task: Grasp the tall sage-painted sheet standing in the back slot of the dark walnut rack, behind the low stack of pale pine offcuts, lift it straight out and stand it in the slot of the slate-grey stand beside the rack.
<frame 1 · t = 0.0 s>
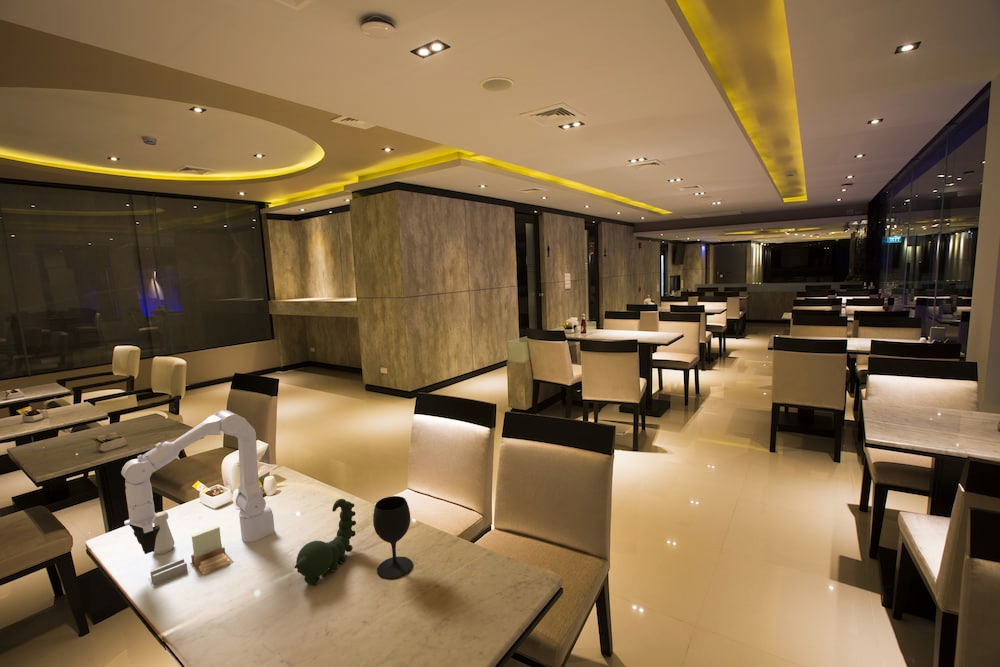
hand: (146, 547, 132), 10 cm above the table, tool pointing down, fingers open, 7 cm apart
lower pine offcut: (214, 566, 137), point 1 cm above the table, touching upper pine offcut, walnut rack
wine glass: (395, 568, 134), on the table
sage sheet: (208, 558, 141), point 1 cm above the table, touching walnut rack
walnut rack: (212, 565, 139), on the table
upper pine offcut: (214, 562, 137), point 2 cm above the table, touching lower pine offcut
toy figurine: (328, 569, 135), on the table
slate stand: (169, 577, 134), on the table
salt shaker: (164, 552, 147), on the table
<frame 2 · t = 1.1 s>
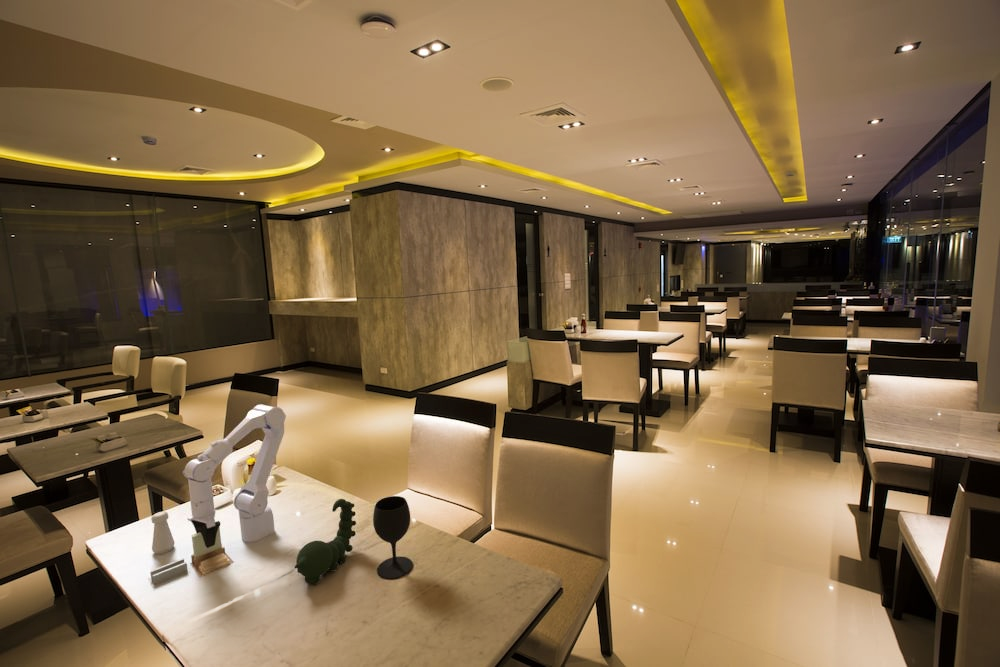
hand: (206, 541, 140), 6 cm above the table, tool pointing down, fingers open, 7 cm apart
nothing on the table moved.
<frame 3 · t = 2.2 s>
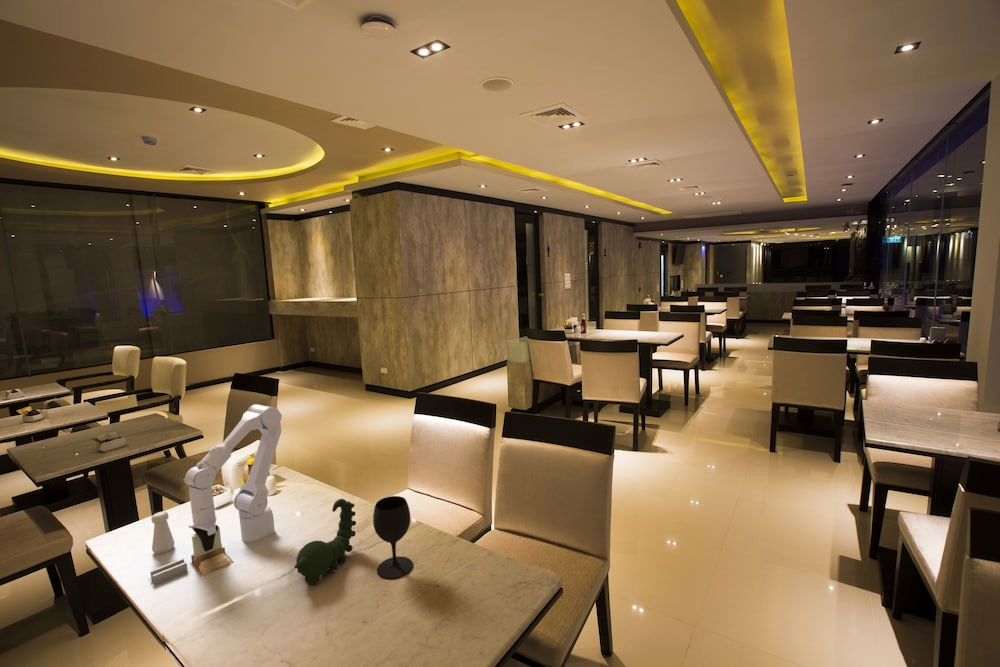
hand: (207, 548, 140), 4 cm above the table, tool pointing down, fingers closed on sage sheet, 1 cm apart
sage sheet: (208, 558, 141), point 1 cm above the table, touching gripper, walnut rack
everything else where it was.
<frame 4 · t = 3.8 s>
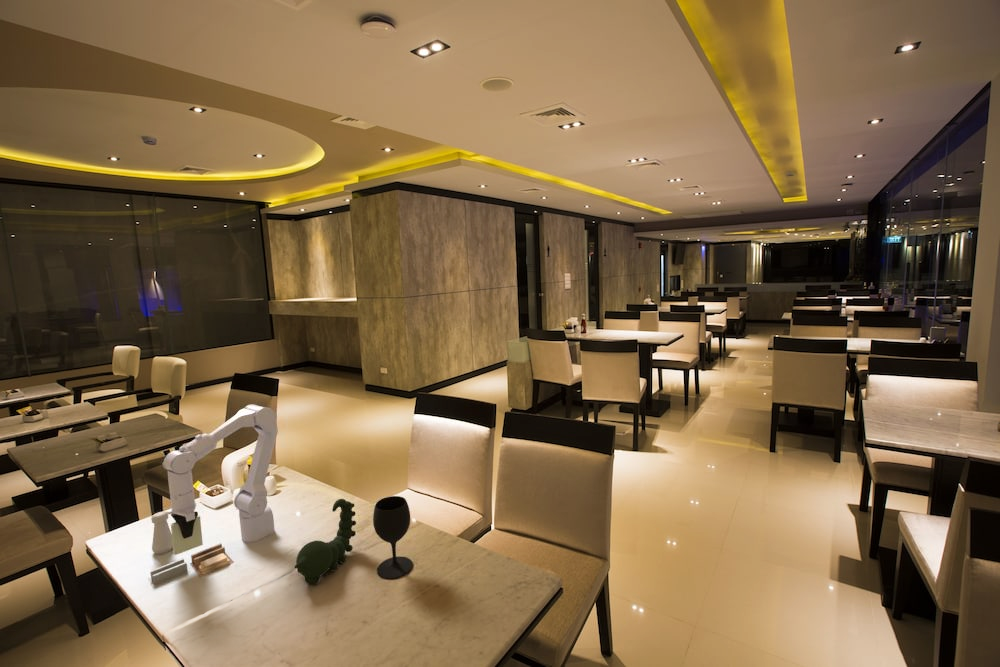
hand: (186, 535, 136), 11 cm above the table, tool pointing down, fingers closed on sage sheet
sage sheet: (188, 549, 137), point 6 cm above the table, touching gripper
everything else where it was.
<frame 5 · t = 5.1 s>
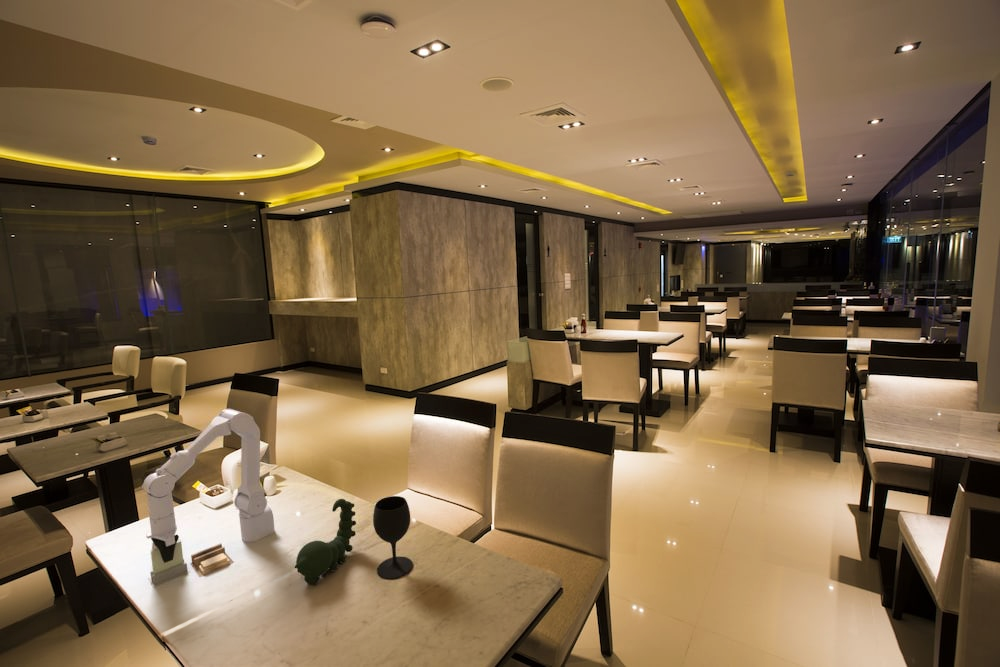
hand: (167, 559, 133), 6 cm above the table, tool pointing down, fingers closed on sage sheet, 1 cm apart
sage sheet: (169, 574, 133), point 1 cm above the table, touching gripper
everything else where it was.
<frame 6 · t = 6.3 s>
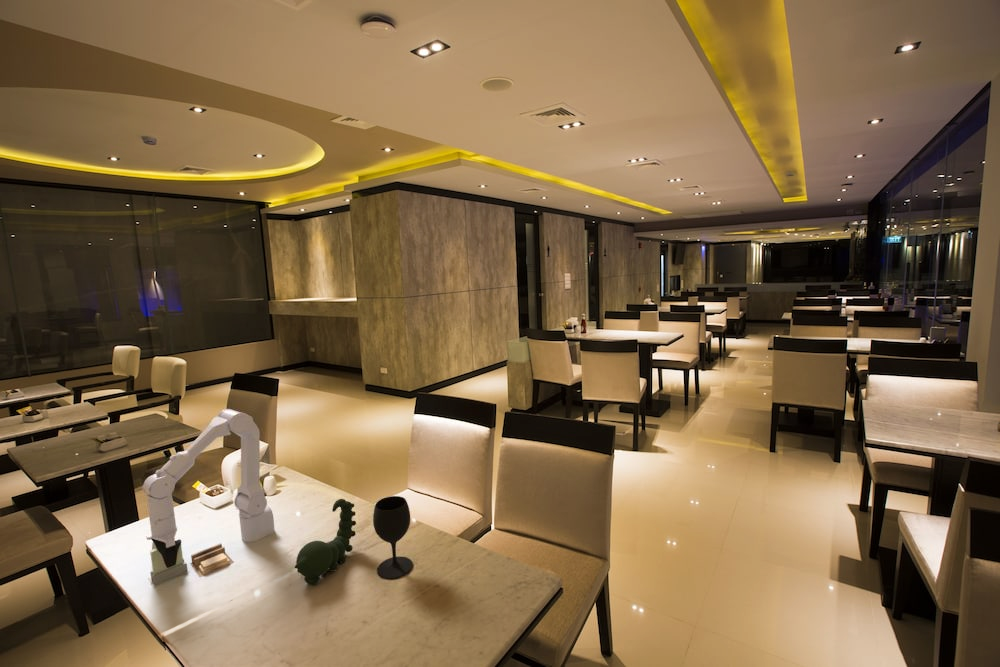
hand: (167, 560, 133), 5 cm above the table, tool pointing down, fingers open, 7 cm apart
sage sheet: (169, 575, 133), point 1 cm above the table, touching slate stand
everything else where it was.
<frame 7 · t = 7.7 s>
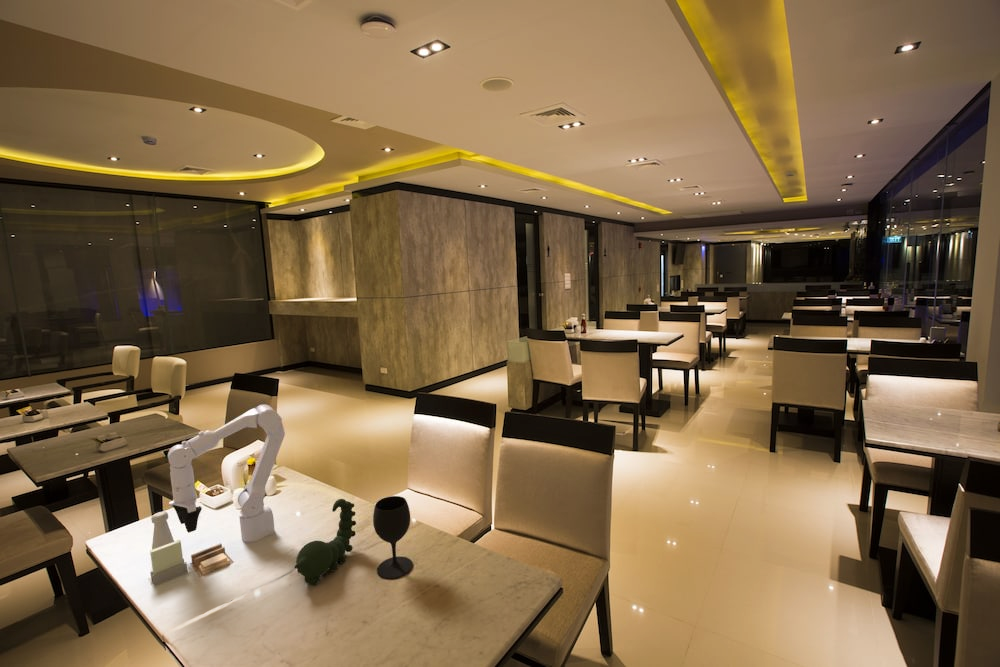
hand: (188, 526, 141), 10 cm above the table, tool pointing down, fingers open, 7 cm apart
nothing on the table moved.
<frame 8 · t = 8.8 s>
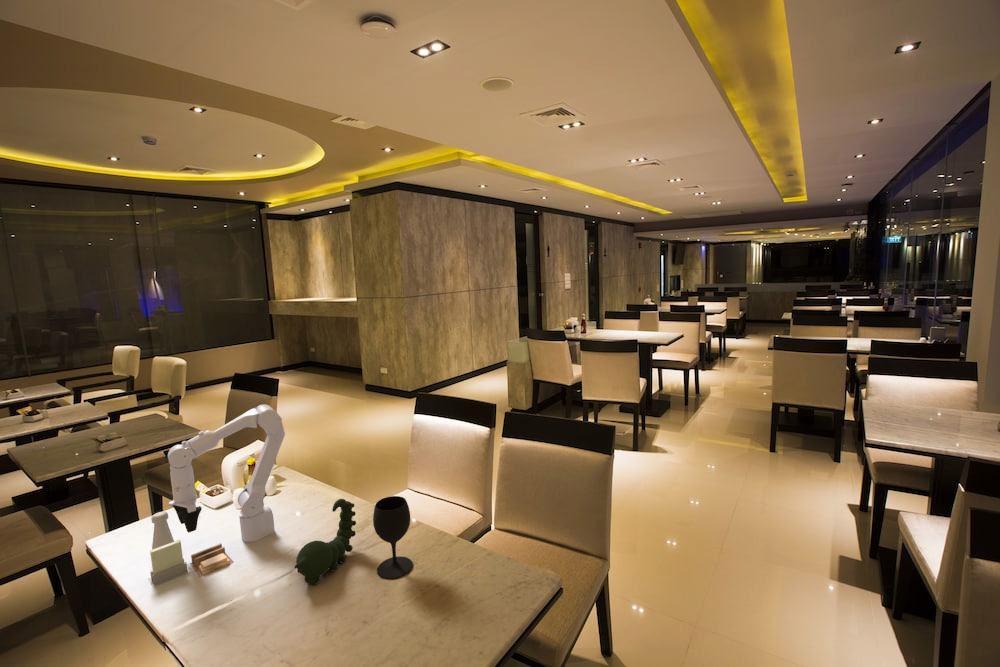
hand: (188, 526, 141), 10 cm above the table, tool pointing down, fingers open, 7 cm apart
nothing on the table moved.
at the end: sage sheet 0.1 cm off-centre on the slate stand, point 0.8 cm above the slate stand's base; sage sheet tilted 0°; the gripper is holding nothing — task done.
